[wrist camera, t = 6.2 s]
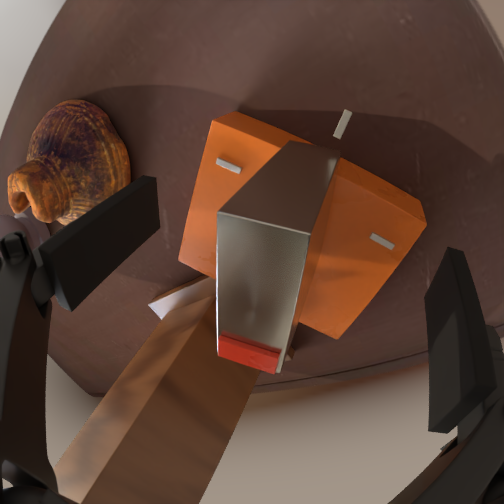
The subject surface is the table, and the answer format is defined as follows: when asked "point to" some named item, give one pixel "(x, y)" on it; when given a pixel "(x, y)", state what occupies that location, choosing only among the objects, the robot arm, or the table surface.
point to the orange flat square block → (338, 226)
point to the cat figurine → (25, 227)
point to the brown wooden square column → (162, 412)
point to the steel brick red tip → (271, 253)
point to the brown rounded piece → (70, 164)
